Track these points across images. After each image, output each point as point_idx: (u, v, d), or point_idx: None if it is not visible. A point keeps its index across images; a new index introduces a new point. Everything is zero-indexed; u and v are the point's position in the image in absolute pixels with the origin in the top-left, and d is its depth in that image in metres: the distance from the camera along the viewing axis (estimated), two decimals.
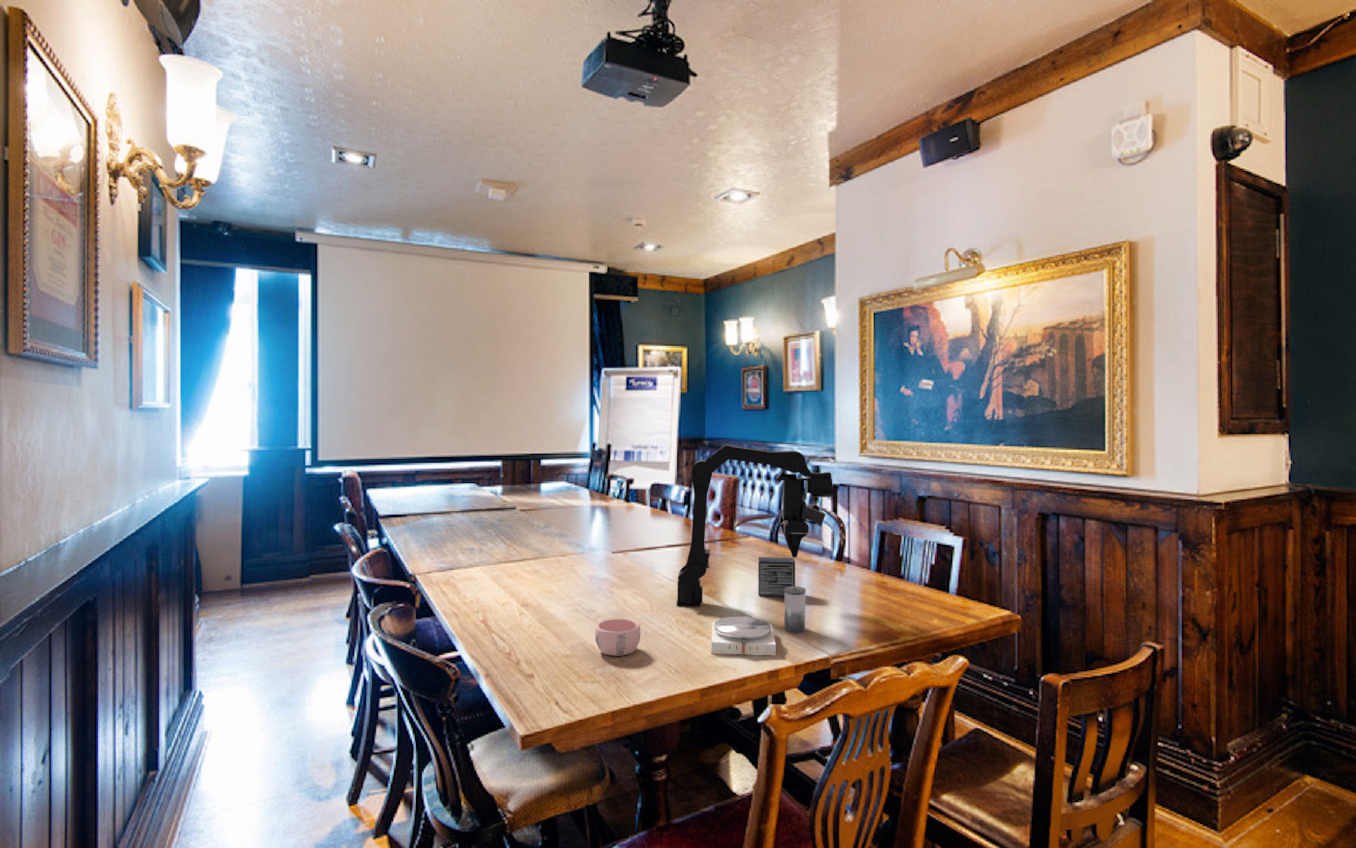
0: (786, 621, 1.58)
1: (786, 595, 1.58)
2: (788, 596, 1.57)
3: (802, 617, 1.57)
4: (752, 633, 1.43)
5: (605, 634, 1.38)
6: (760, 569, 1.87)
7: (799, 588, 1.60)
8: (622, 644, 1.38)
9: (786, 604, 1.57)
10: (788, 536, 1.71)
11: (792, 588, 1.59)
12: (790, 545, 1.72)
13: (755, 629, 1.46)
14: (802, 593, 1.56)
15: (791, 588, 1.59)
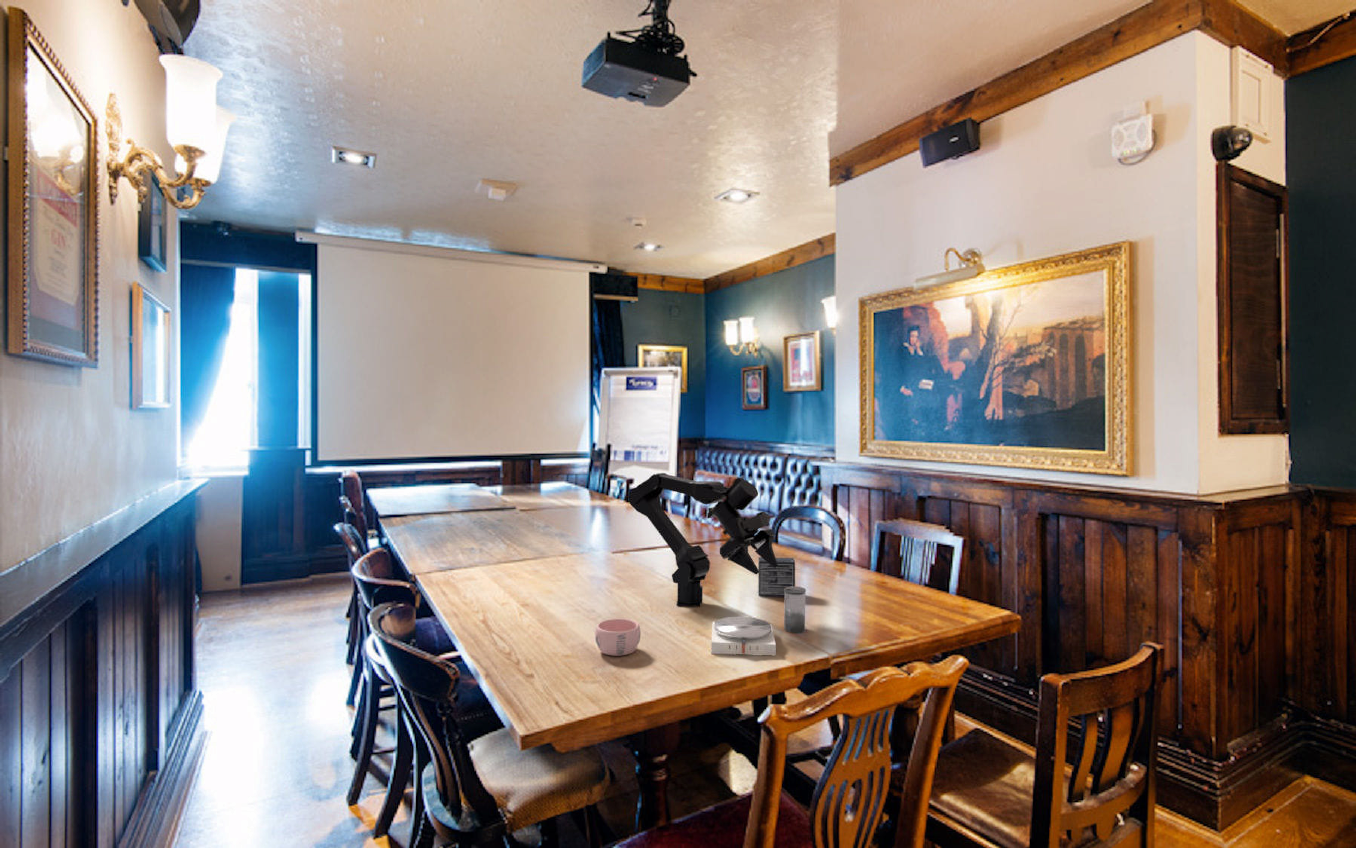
0: (786, 621, 1.58)
1: (786, 595, 1.58)
2: (788, 596, 1.57)
3: (802, 617, 1.57)
4: (752, 633, 1.43)
5: (605, 634, 1.38)
6: (760, 569, 1.87)
7: (799, 588, 1.60)
8: (623, 644, 1.38)
9: (786, 604, 1.57)
10: (735, 559, 1.62)
11: (792, 588, 1.59)
12: (744, 566, 1.61)
13: (755, 629, 1.46)
14: (802, 593, 1.56)
15: (791, 588, 1.59)
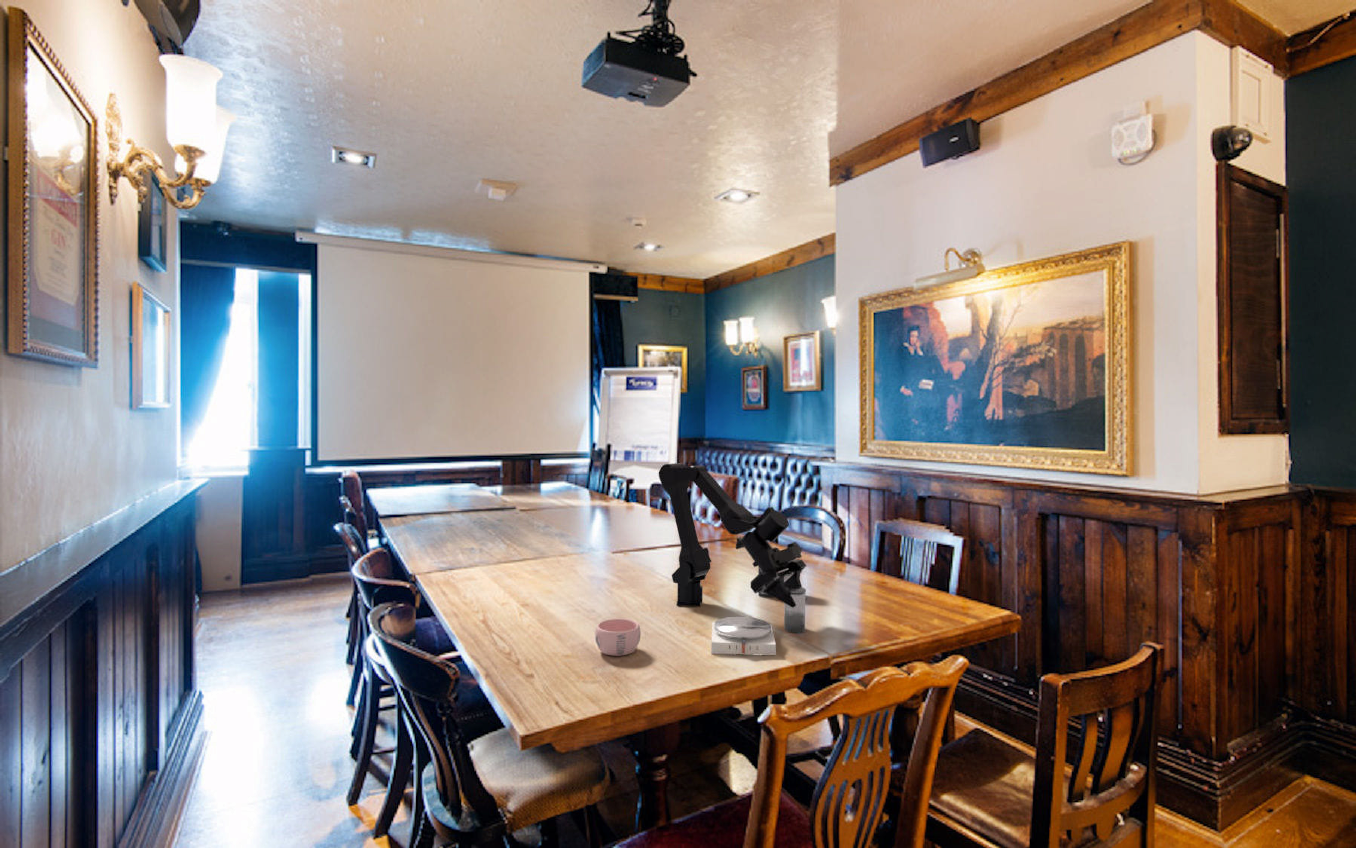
0: (786, 621, 1.58)
1: None
2: None
3: (802, 617, 1.57)
4: (752, 633, 1.43)
5: (605, 634, 1.38)
6: None
7: (799, 587, 1.60)
8: (623, 644, 1.38)
9: (786, 604, 1.57)
10: (770, 592, 1.58)
11: (792, 588, 1.59)
12: (780, 598, 1.57)
13: (755, 629, 1.46)
14: (802, 593, 1.56)
15: (791, 588, 1.59)
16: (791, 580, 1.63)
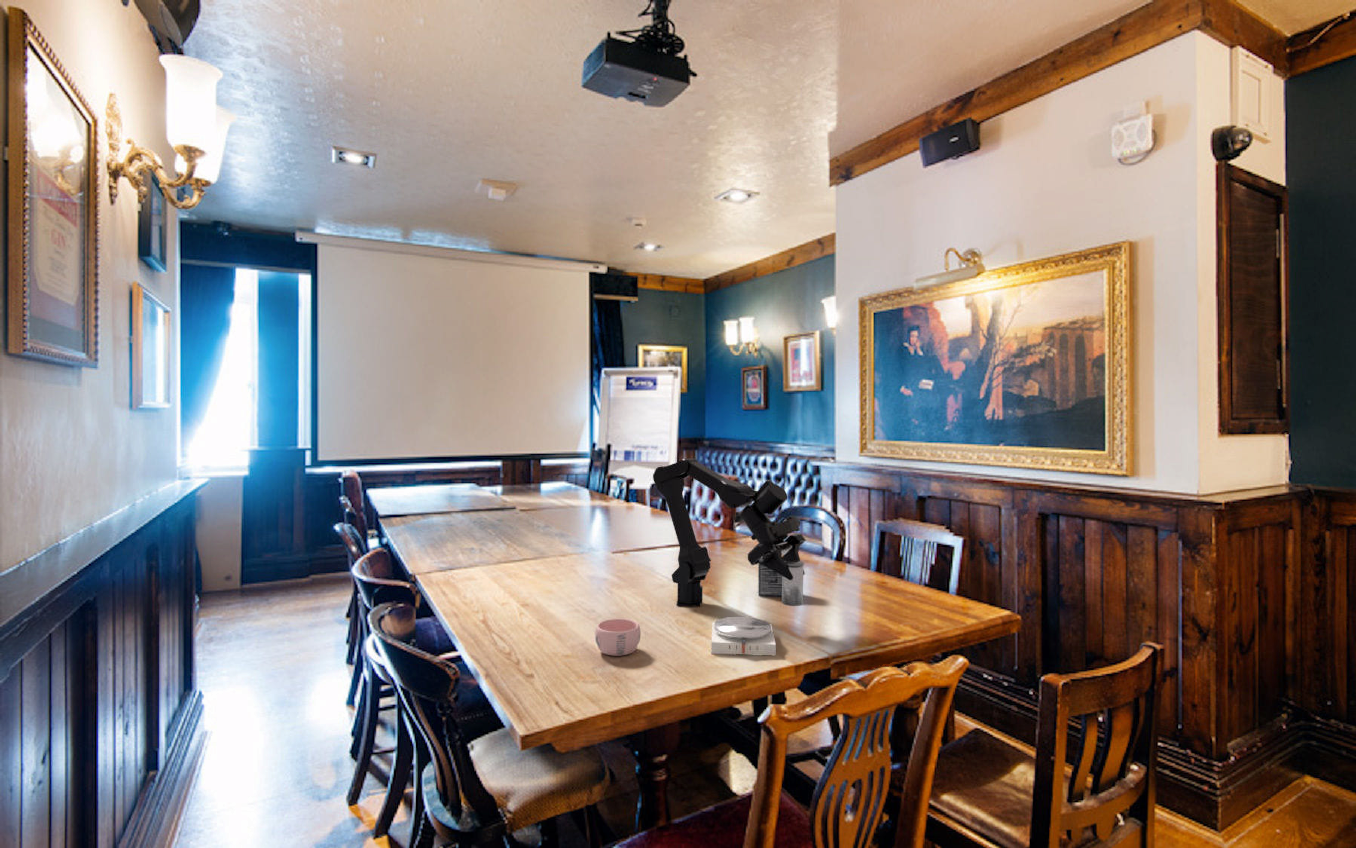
0: (784, 594, 1.57)
1: None
2: None
3: (800, 590, 1.56)
4: (752, 633, 1.43)
5: (605, 634, 1.38)
6: (760, 569, 1.87)
7: (797, 561, 1.59)
8: (623, 644, 1.38)
9: (784, 577, 1.57)
10: (768, 564, 1.57)
11: (790, 561, 1.58)
12: (777, 571, 1.56)
13: (755, 629, 1.46)
14: (800, 566, 1.55)
15: (789, 561, 1.58)
16: (789, 554, 1.62)
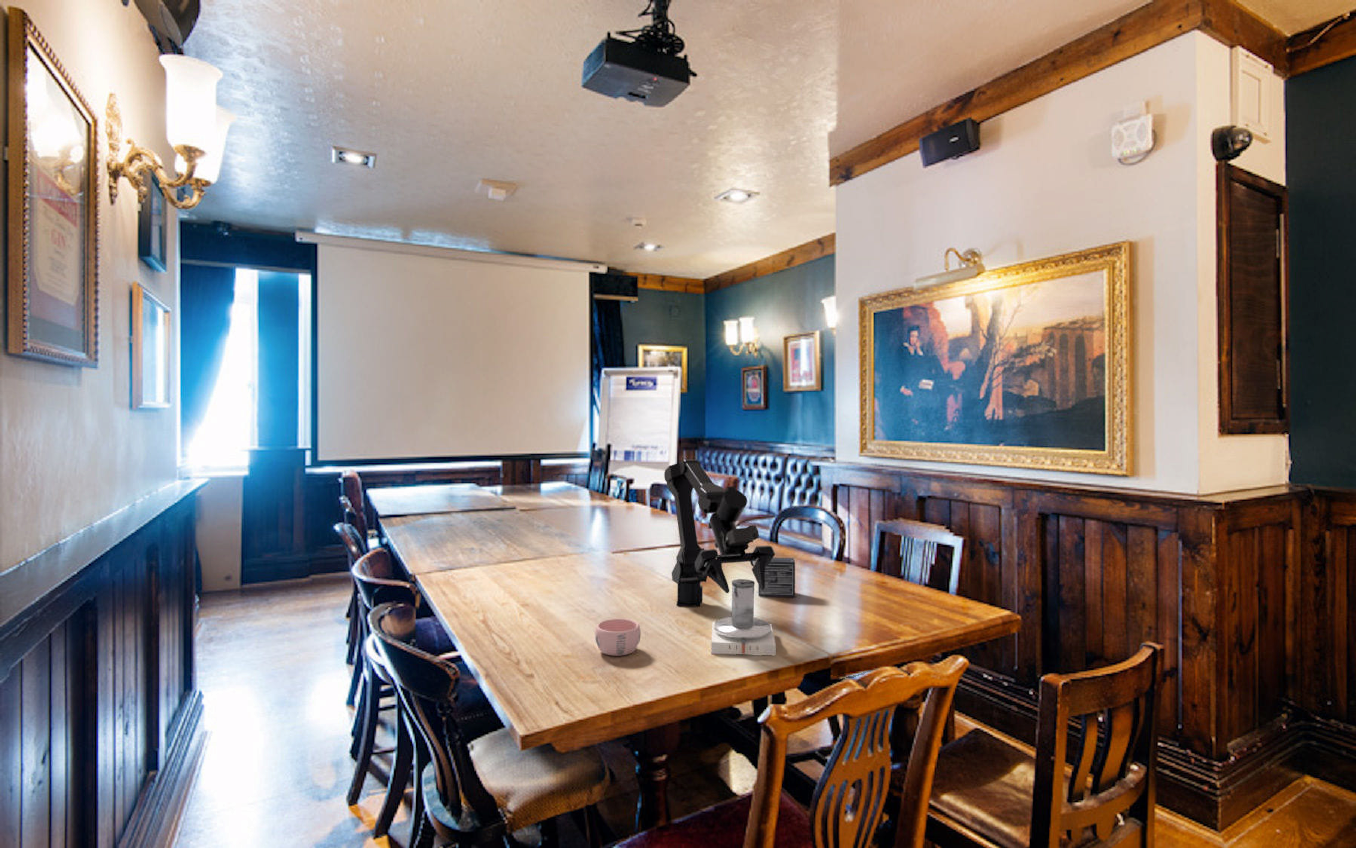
0: None
1: (732, 587, 1.49)
2: (732, 588, 1.48)
3: (745, 612, 1.46)
4: (752, 633, 1.43)
5: (605, 634, 1.38)
6: None
7: (750, 581, 1.49)
8: (623, 644, 1.38)
9: (732, 596, 1.49)
10: (710, 574, 1.50)
11: (742, 581, 1.49)
12: (717, 582, 1.48)
13: (755, 629, 1.46)
14: (745, 587, 1.46)
15: (741, 581, 1.49)
16: (756, 565, 1.53)
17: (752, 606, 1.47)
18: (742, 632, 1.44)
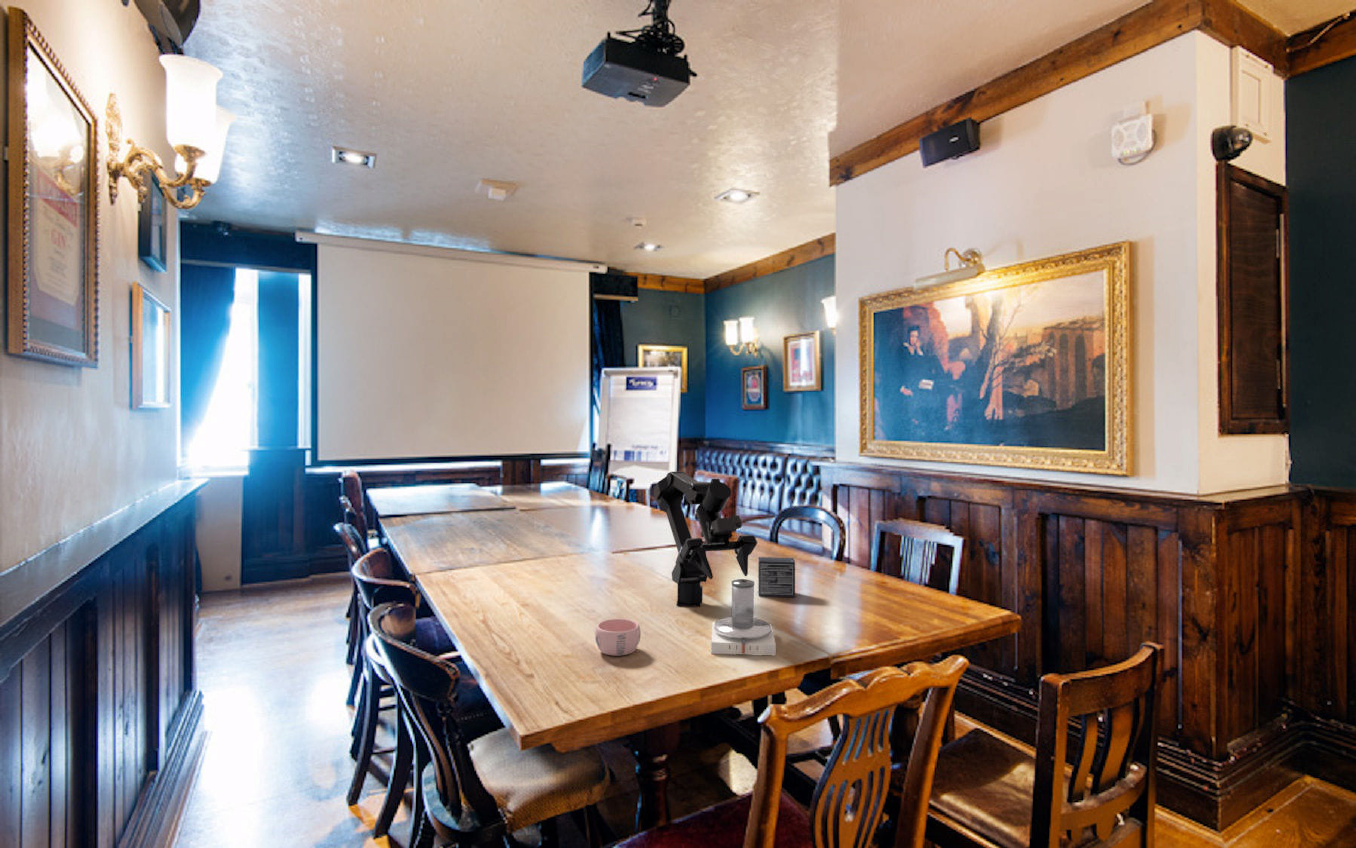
0: None
1: (732, 587, 1.49)
2: (732, 588, 1.48)
3: (745, 612, 1.46)
4: (752, 633, 1.43)
5: (605, 634, 1.38)
6: (760, 569, 1.87)
7: (749, 581, 1.49)
8: (623, 644, 1.38)
9: (732, 596, 1.49)
10: (695, 562, 1.58)
11: (741, 581, 1.49)
12: (701, 569, 1.57)
13: (755, 629, 1.46)
14: (744, 587, 1.46)
15: (740, 581, 1.49)
16: (740, 553, 1.61)
17: (752, 606, 1.47)
18: (742, 632, 1.44)
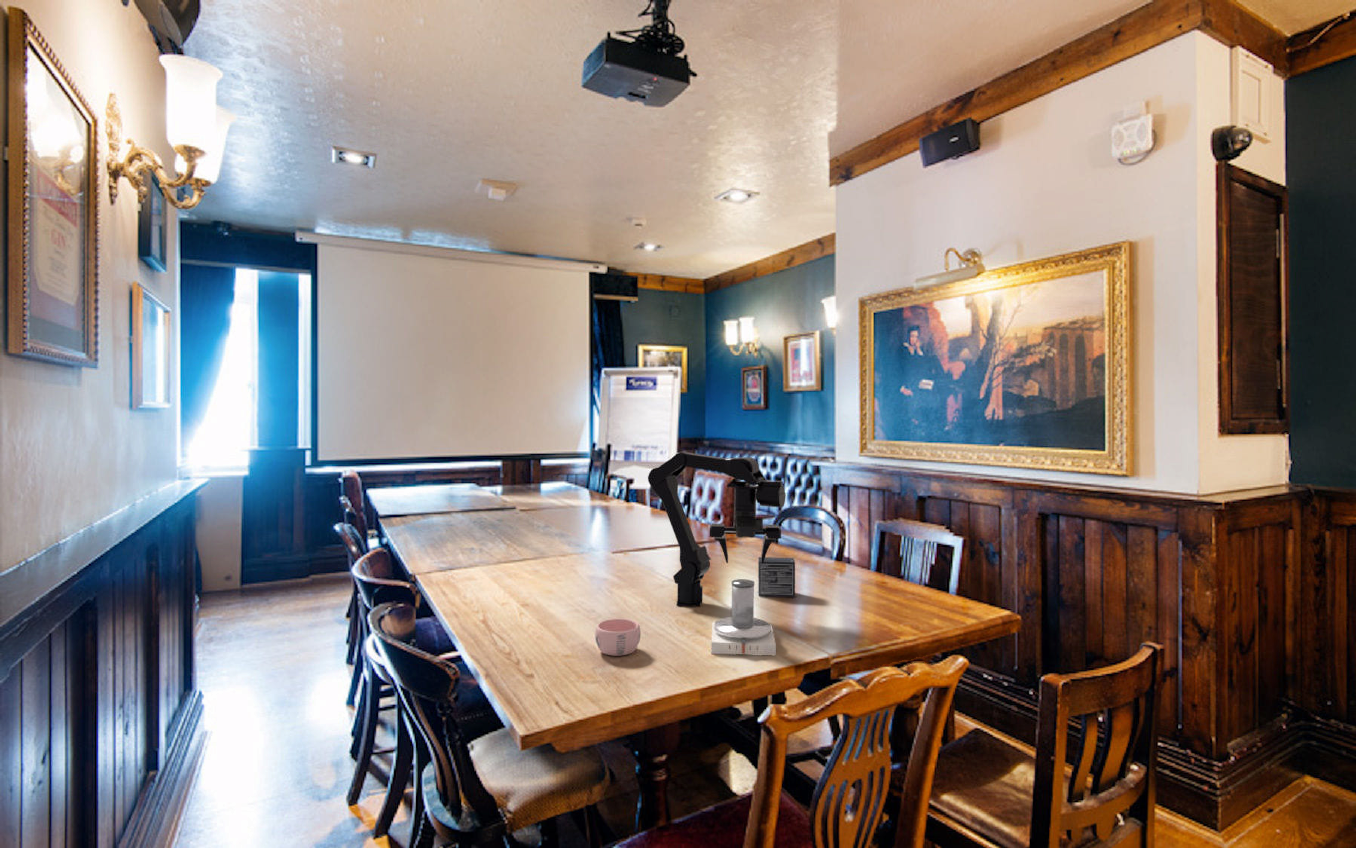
0: None
1: (732, 587, 1.49)
2: (732, 588, 1.48)
3: (745, 612, 1.46)
4: (752, 633, 1.43)
5: (605, 634, 1.38)
6: (760, 569, 1.87)
7: (749, 581, 1.49)
8: (623, 644, 1.38)
9: (732, 596, 1.49)
10: None
11: (741, 581, 1.49)
12: None
13: (755, 629, 1.46)
14: (744, 587, 1.46)
15: (740, 581, 1.49)
16: (763, 541, 1.72)
17: (752, 606, 1.47)
18: (742, 632, 1.44)
